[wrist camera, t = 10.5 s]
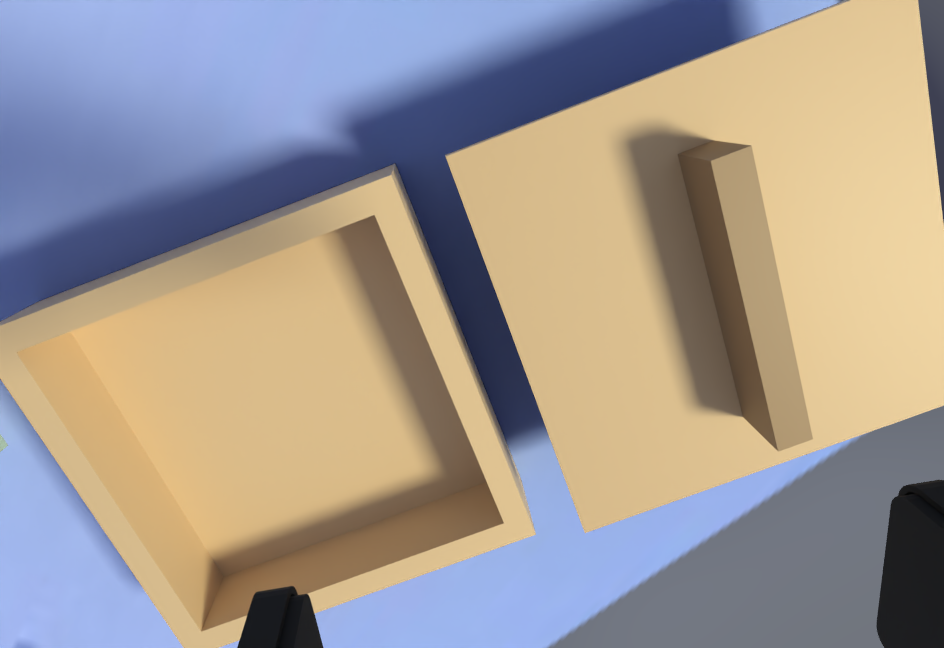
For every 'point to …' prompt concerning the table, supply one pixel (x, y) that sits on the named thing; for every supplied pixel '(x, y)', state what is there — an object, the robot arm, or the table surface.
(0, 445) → the green block
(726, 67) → the mailer lid
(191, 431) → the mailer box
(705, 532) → the table surface
